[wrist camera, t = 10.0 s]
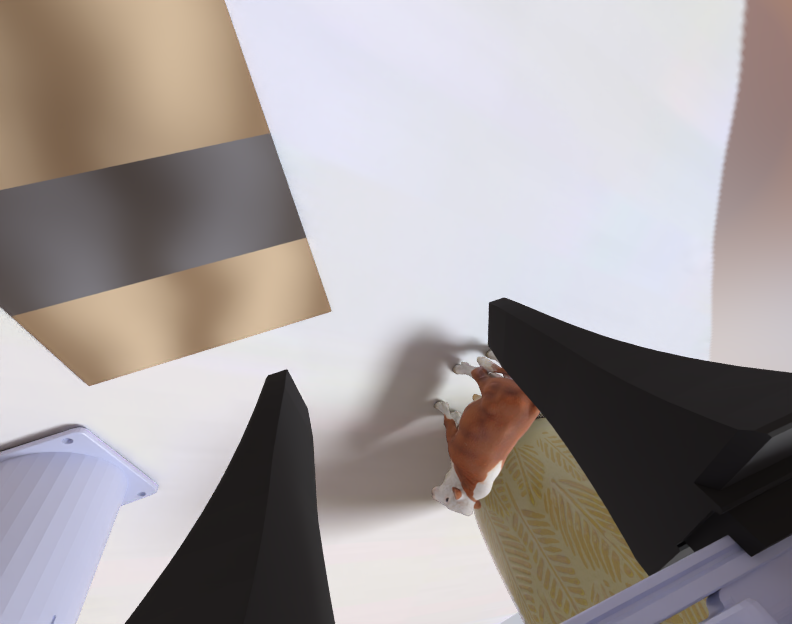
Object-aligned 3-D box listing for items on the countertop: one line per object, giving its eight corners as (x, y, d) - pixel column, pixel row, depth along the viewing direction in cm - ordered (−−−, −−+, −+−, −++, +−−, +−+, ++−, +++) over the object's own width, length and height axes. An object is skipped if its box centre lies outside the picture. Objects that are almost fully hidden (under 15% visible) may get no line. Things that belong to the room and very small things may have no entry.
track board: (90, 383, 18) (89, 386, 18) (-655, -295, 6) (-680, -306, 6) (331, 309, 20) (331, 311, 20) (122, -295, 8) (119, -303, 8)
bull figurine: (402, 440, 31) (436, 532, 24) (474, 328, 25) (543, 408, 19) (438, 441, 33) (478, 526, 26) (512, 338, 27) (585, 413, 21)
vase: (556, 470, 47) (794, 784, 25) (449, 508, 42) (627, 925, 21) (597, 389, 37) (1038, 785, 16) (464, 428, 33) (820, 1047, 11)
